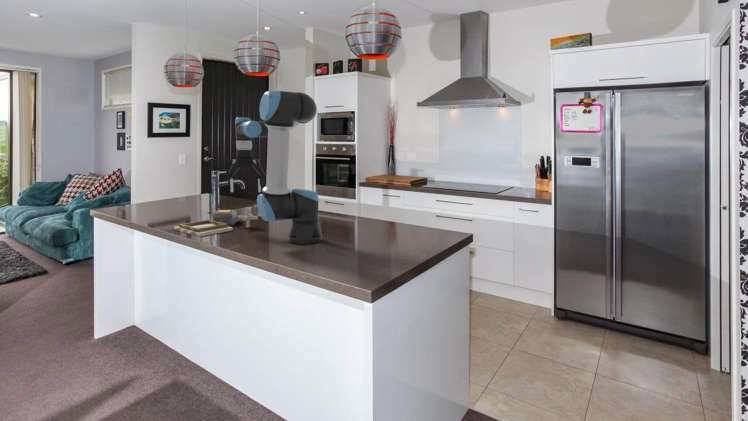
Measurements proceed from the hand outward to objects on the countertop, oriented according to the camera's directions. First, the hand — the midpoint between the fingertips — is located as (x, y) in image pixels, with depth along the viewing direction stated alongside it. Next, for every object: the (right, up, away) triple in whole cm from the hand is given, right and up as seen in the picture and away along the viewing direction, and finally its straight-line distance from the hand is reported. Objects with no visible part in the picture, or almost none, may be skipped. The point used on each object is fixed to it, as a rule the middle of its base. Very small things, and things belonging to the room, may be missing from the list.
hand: (245, 192), depth 224 cm
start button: (-15, -13, +12) cm, 23 cm away
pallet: (-19, -19, -6) cm, 27 cm away
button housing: (-15, -16, +13) cm, 25 cm away
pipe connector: (0, -18, +3) cm, 18 cm away
